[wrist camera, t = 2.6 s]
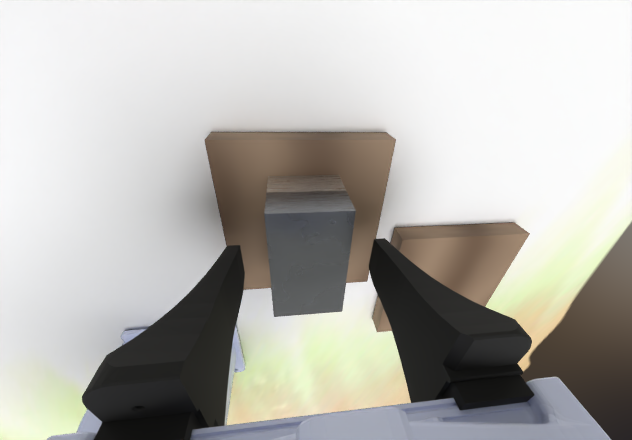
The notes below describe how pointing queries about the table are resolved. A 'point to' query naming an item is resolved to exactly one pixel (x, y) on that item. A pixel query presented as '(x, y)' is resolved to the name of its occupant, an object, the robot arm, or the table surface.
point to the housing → (308, 242)
